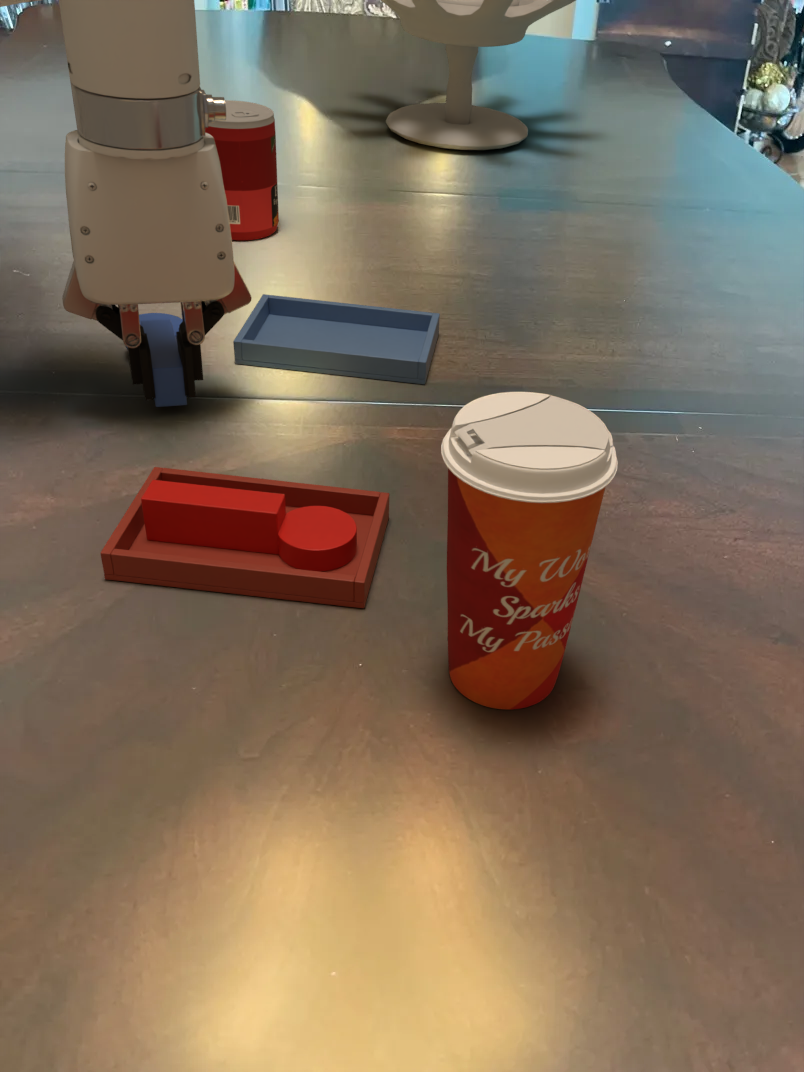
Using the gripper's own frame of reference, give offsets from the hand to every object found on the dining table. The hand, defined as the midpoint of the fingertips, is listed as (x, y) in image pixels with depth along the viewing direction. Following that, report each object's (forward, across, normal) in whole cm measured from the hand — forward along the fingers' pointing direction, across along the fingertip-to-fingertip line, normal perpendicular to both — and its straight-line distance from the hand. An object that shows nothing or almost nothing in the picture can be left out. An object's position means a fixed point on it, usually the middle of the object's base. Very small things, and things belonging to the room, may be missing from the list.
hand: (168, 388), depth 76 cm
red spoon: (+1, -3, +19) cm, 19 cm away
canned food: (+2, -11, -37) cm, 38 cm away
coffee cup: (+1, -14, +34) cm, 36 cm away
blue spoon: (+1, 0, -5) cm, 5 cm away
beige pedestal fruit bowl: (+2, -44, -69) cm, 82 cm away
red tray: (+1, -3, +19) cm, 19 cm away
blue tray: (+1, -14, -8) cm, 16 cm away
